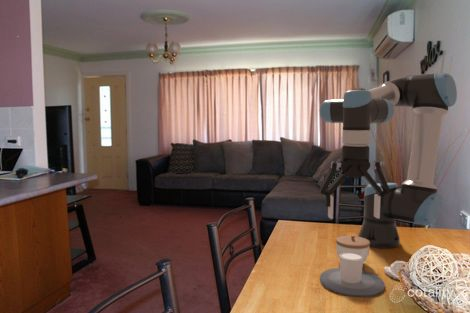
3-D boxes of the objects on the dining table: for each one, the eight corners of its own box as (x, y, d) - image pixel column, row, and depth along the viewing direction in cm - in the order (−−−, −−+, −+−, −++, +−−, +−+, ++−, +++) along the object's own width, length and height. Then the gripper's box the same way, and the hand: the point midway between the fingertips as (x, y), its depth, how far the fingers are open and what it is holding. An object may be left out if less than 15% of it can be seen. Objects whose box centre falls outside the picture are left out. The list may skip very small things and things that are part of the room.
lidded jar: (364, 271, 124) (365, 242, 123) (330, 264, 130) (331, 236, 129) (372, 261, 133) (373, 234, 132) (340, 255, 139) (341, 229, 138)
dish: (371, 271, 125) (371, 267, 124) (394, 296, 107) (395, 293, 107) (314, 270, 124) (314, 267, 124) (328, 296, 106) (328, 292, 106)
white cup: (364, 285, 111) (365, 261, 111) (339, 283, 113) (340, 259, 112) (361, 275, 118) (362, 252, 117) (337, 273, 119) (338, 251, 119)
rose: (419, 259, 124) (420, 270, 115) (418, 273, 124) (419, 285, 115) (385, 254, 127) (383, 265, 119) (384, 268, 128) (383, 279, 119)
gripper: (393, 143, 117) (390, 213, 120) (309, 144, 117) (308, 214, 119) (404, 145, 110) (401, 220, 112) (315, 146, 109) (313, 221, 112)
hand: (353, 217), depth 116 cm, fingers open, 13 cm apart
